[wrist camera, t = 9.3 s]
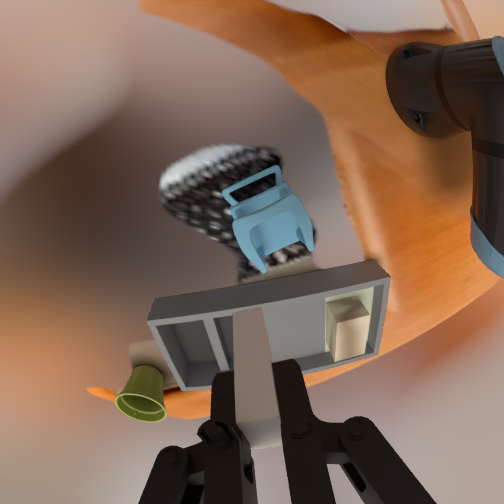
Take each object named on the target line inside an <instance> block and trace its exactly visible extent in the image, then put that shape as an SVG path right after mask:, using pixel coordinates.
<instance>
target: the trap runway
mask: <svg viewBox="0 0 504 504" xmlns="http://www.w3.org/2000/svg"><path fill="white" fill-rule="evenodd" d="M390 278H391V276H390V275H389V274H388V273H387V272H386V271H385V270H384V269H383V268H382V267H381V266H380V265H379V264H378V263H377V262H376V261H375V260H374V259H373V260H368V261H364V262H359V263H354V264H349V265H344V266H339V267H334V268H329V269H324V270H319V271H314V272H309V273H304V274H298V275H293V276H288V277H282V278H277V279H271V280H266V281H260V282H254V283H249V284H243V285H237V286H231V287H225V288H219V289H213V290H208V291H201V292H194V293H188V294H182V295H175V296H168V297H161V298H155V299H154V302H153V304H152V307H151V310H150V312H149V315H148V318H147V323H148V325H149V327H150V329H151V332H152V334H153V336H154V338H155V340H156V342H157V344H158V346H159V348H160V350H161V352H162V354H163V356H164V358H165V360H166V362H167V364H168V366H169V368H170V370H171V372H172V374H173V375H174V377H175V379H176V381H177V383H178V385H179V386H180V388H181V390H182V391H195V390H207V389H212V381H213V379H214V377H215V375H216V373H221V372H227V371H234V346H233V312H237V311H242V310H247V309H251V308H256V307H261V308H262V312H263V316H264V320H265V324H266V328H267V332H268V336H269V340H270V345H271V351H272V356H273V362H278V361H283V360H288V359H292V358H294V360H295V361H296V362H297V363H298V364H299V365H300V367H301V371H302V375H304V374H308V373H313V372H317V371H321V370H325V369H329V368H333V367H337V366H341V365H345V364H348V363H352V362H355V361H359V360H362V359H366V358H369V357H372V356H375V355H378V352H379V347H380V342H381V337H382V332H383V326H384V320H385V314H386V308H387V301H388V294H389V286H390ZM356 295H357V296H358V298H359V299H360V301H361V302H362V303H363V305H364V306H365V308H366V309H367V311H368V312H369V314H370V320H369V328H368V335H367V341H366V347H365V353H364V354H362V355H358V356H355V357H351V358H348V359H344V360H340V361H336V362H334V359H333V357H332V354H331V352H330V350H329V347H328V345H327V343H326V302H330V301H334V300H339V299H343V298H347V297H352V296H356Z"/></svg>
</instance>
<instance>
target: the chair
mask: <svg viewBox="0 0 504 504" xmlns="http://www.w3.org/2000/svg"><path fill="white" fill-rule="evenodd" d="M272 173H275V180H276V186H274V187H272V188H270V189H268V190H266V191H264V192H262V193H260V194H258V195H255V196H253V197H251V198H249V199H247V200H244V201H242V202H240V203H239V202H238V201H237V200H236V199H234V198H233V197H232V196H231V195H230V192H232V191H234V190H236V189H238V188H240V187H243V186H245V185H247V184H249V183H251V182H254V181H256V180H258V179H260V178H262V177H265V176H267V175H269V174H272ZM222 195H223V196H224V198H225V199H226V200H227V201H228V202H229V203H230V204H231V205H232V206H231V207H229V210H230V212H231V214H232V216H233V218H234V222H233V230H234V234H235V236H236V239H237V241H238V243H239V245H240V247H241V249H242V251H243V253H244V254H245V255H246V256H247V258H248V259H249V260H250V261H251V262H252V263H254V264H255V265H256V266H257V267H258V268H259V270H260V271H261V272H262V273H266V272H267V269H266V266H265V256H267V255H269V254H271V253H273V252H275V251H277V250H279V249H281V248H283V247H285V246H288V245H290V244H292V243H295V242H297V241H299V240H300V241H302V242H303V243H304V244H306V246H307V248H308V249H309V251H311V252H312V251H314V244H313V231H312V224H311V220H310V217H309V215H308V213H307V211H306V208H305V207H304V205H303V203H302V202H301V200H300V198H299V197H298V196H297V195H296V194H292V193H291V191H290V188H289V186H288V184H287V182H286V181H285V182H282V174H281V169H280V167H279V166H278V165H274V166H272V167H270V168H267V169H265V170H263V171H261V172H259V173H257V174H254V175H252V176H250V177H248V178H246V179H244V180H242V181H240V182H238V183H236V184H234V185H232V186H229V187H227V188H225V189H224V190H223V191H222Z"/></svg>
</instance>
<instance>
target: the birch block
mask: <svg viewBox="0 0 504 504" xmlns="http://www.w3.org/2000/svg"><path fill="white" fill-rule="evenodd" d="M369 320H370V314H369V312H368V311H367V309H366V308H365V306H364V305H363V303H362V302H361V301H360V299H359V298H358V296H357V295H356V296H352V297H347V298H343V299H339V300H334V301H330V302H326V343H327V345H328V347H329V350H330V352H331V354H332V357H333V359H334V362H336V361H340V360H344V359H348V358H351V357H355V356H358V355H362V354H364V353H365V347H366V341H367V335H368V328H369Z"/></svg>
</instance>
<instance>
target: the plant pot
mask: <svg viewBox="0 0 504 504" xmlns="http://www.w3.org/2000/svg"><path fill="white" fill-rule="evenodd" d="M115 404H116V406H117V408H118V409H119V410H120V411H121V412H122V413H124V414H125V415H127V416H129V417H131V418H133V419H136V420H139V421H143V422H159V421H162V420H163V419H165V418H166V415H167V411H166V409H165V405H164V402H163V375H162V374H161V373H160V372H159V371H158V370H157V369H156V368H154V367H152V366H148V365H140V366H138V367H135V368H134V370H133V372H132V374H131V376H130V378H129V380H128V382H127V384H126V386H125V388H124V389H123V391H122V392H121V393H120V394H119V395H117V397H116V398H115Z"/></svg>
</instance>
